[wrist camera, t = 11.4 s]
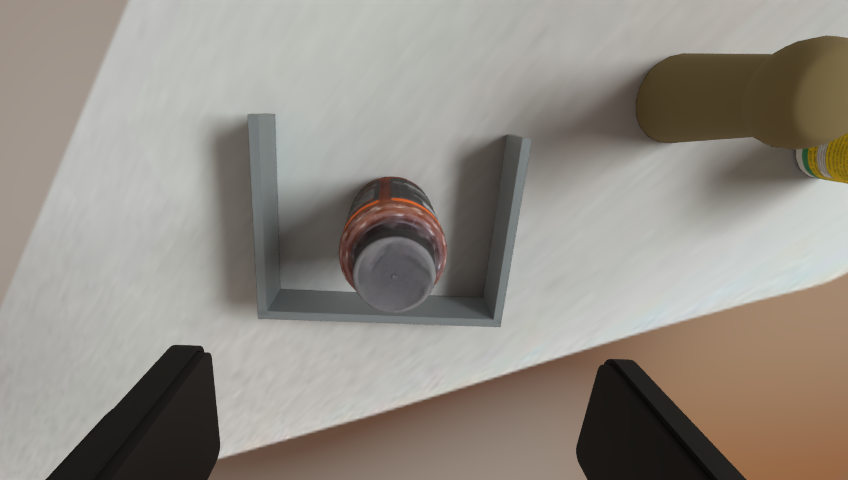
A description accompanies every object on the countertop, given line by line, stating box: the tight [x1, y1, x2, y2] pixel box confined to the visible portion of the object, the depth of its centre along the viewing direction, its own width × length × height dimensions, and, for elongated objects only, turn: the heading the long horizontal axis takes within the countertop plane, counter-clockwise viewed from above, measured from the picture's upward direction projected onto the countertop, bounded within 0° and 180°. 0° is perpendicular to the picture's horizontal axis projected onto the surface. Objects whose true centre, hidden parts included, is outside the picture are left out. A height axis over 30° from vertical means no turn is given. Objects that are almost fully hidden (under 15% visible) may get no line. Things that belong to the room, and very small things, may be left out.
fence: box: [248, 114, 532, 327], centre depth 27 cm, size 14×17×4 cm
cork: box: [636, 36, 848, 150], centre depth 23 cm, size 6×6×11 cm
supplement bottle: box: [339, 177, 447, 313], centre depth 24 cm, size 6×6×11 cm
